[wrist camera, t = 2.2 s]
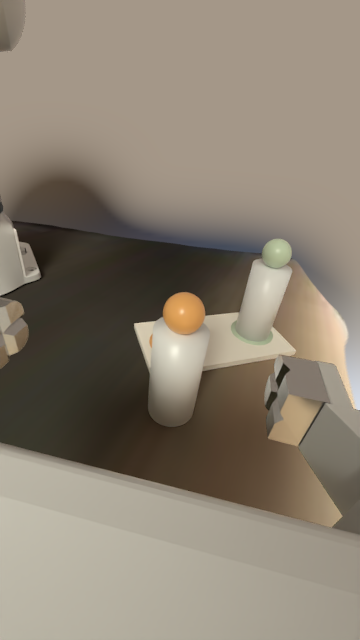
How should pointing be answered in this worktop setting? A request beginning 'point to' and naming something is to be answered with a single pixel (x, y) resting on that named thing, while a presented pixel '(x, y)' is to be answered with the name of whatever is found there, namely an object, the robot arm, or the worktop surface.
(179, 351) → the orange ball tube
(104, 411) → the worktop surface
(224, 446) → the worktop surface
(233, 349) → the card
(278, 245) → the green ball tube
